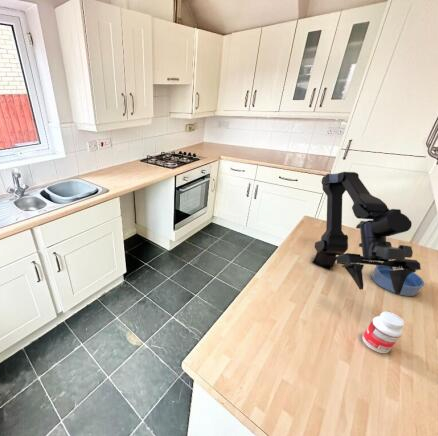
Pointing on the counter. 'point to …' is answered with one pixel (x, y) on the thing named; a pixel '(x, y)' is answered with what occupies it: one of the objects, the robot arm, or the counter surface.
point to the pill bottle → (383, 332)
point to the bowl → (384, 280)
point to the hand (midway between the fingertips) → (379, 291)
